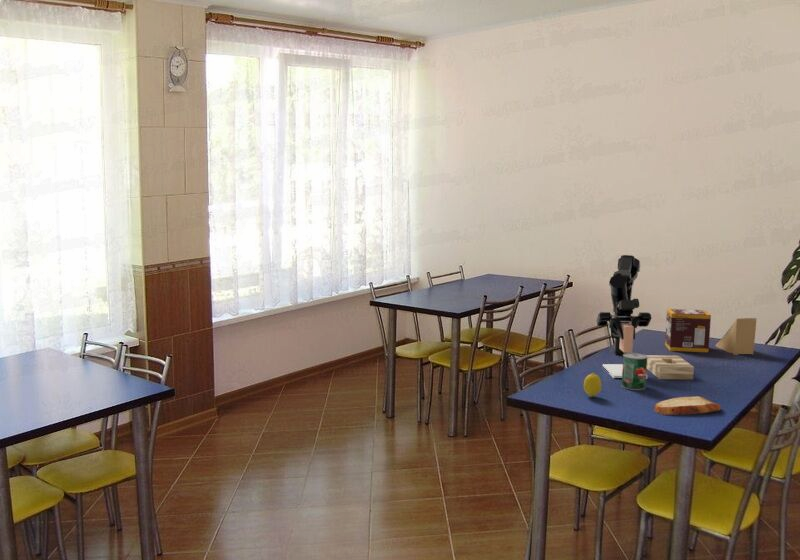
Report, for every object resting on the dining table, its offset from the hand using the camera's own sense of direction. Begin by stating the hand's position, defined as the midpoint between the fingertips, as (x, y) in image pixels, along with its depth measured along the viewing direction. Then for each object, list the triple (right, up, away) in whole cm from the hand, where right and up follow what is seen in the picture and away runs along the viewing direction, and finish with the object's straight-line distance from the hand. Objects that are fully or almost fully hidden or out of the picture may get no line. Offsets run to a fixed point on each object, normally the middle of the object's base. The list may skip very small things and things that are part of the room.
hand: (627, 339), depth 281 cm
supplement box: (+36, -7, +41) cm, 55 cm away
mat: (0, -12, +3) cm, 13 cm away
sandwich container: (+55, -8, +39) cm, 68 cm away
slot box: (+16, -13, +3) cm, 21 cm away
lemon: (-19, -17, -26) cm, 37 cm away
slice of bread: (+7, -20, -38) cm, 44 cm away
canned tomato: (-2, -15, -15) cm, 21 cm away
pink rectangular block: (0, -4, +2) cm, 5 cm away
